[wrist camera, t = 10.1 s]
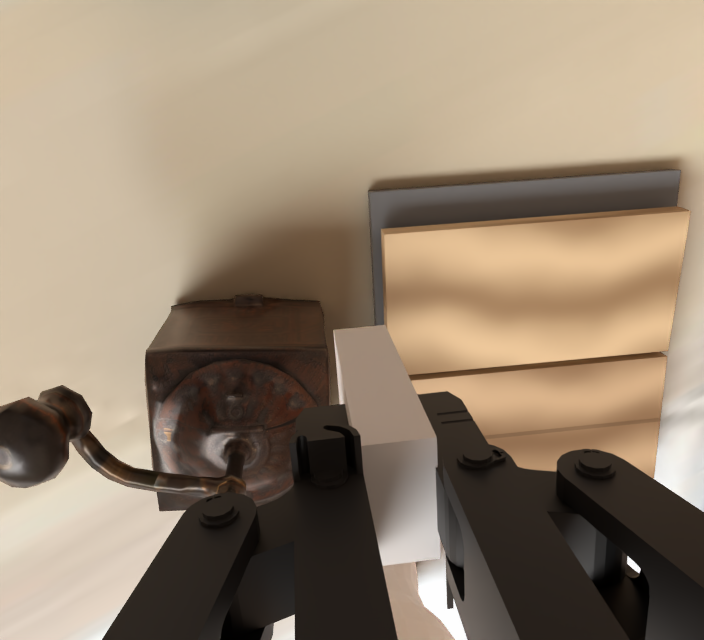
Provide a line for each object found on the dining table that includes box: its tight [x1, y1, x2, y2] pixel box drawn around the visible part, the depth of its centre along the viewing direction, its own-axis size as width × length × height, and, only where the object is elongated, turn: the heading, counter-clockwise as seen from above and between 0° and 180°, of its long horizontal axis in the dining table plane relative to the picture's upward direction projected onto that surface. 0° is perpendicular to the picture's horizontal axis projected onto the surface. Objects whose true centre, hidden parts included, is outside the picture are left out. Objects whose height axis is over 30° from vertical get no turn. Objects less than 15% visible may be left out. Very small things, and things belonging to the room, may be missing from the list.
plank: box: [381, 206, 691, 375], centre depth 41 cm, size 10×20×2 cm, turn 94°
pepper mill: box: [0, 294, 331, 511], centre depth 34 cm, size 16×11×18 cm
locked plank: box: [408, 352, 667, 478], centre depth 45 cm, size 10×20×2 cm, turn 93°
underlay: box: [368, 169, 681, 352], centre depth 44 cm, size 25×21×1 cm
